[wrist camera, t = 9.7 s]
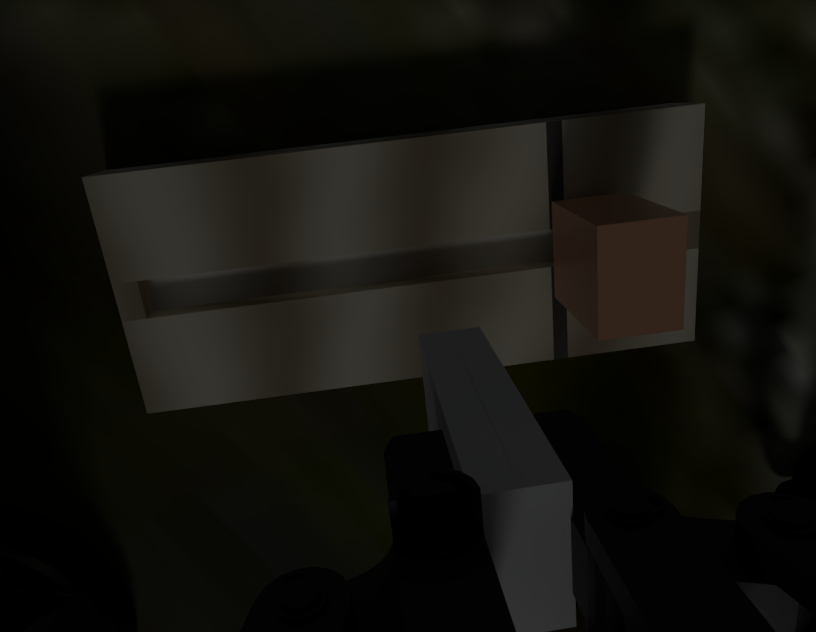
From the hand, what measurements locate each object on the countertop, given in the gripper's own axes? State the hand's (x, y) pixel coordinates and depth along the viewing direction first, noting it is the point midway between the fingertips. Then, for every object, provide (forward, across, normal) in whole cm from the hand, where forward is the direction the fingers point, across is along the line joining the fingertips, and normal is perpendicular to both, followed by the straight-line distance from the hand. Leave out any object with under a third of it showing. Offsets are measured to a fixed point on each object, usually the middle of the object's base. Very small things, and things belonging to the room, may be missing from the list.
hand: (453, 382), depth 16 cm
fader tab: (+12, +7, 0) cm, 14 cm away
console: (+14, 0, 0) cm, 14 cm away
